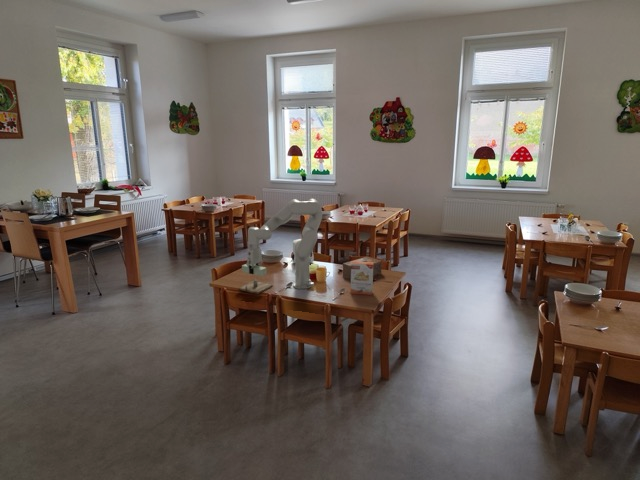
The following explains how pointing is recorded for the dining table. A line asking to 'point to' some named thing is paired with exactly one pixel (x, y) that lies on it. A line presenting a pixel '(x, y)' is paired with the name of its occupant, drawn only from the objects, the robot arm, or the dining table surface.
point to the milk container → (294, 252)
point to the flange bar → (255, 270)
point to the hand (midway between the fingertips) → (254, 272)
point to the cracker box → (361, 277)
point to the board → (255, 287)
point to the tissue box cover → (376, 264)
